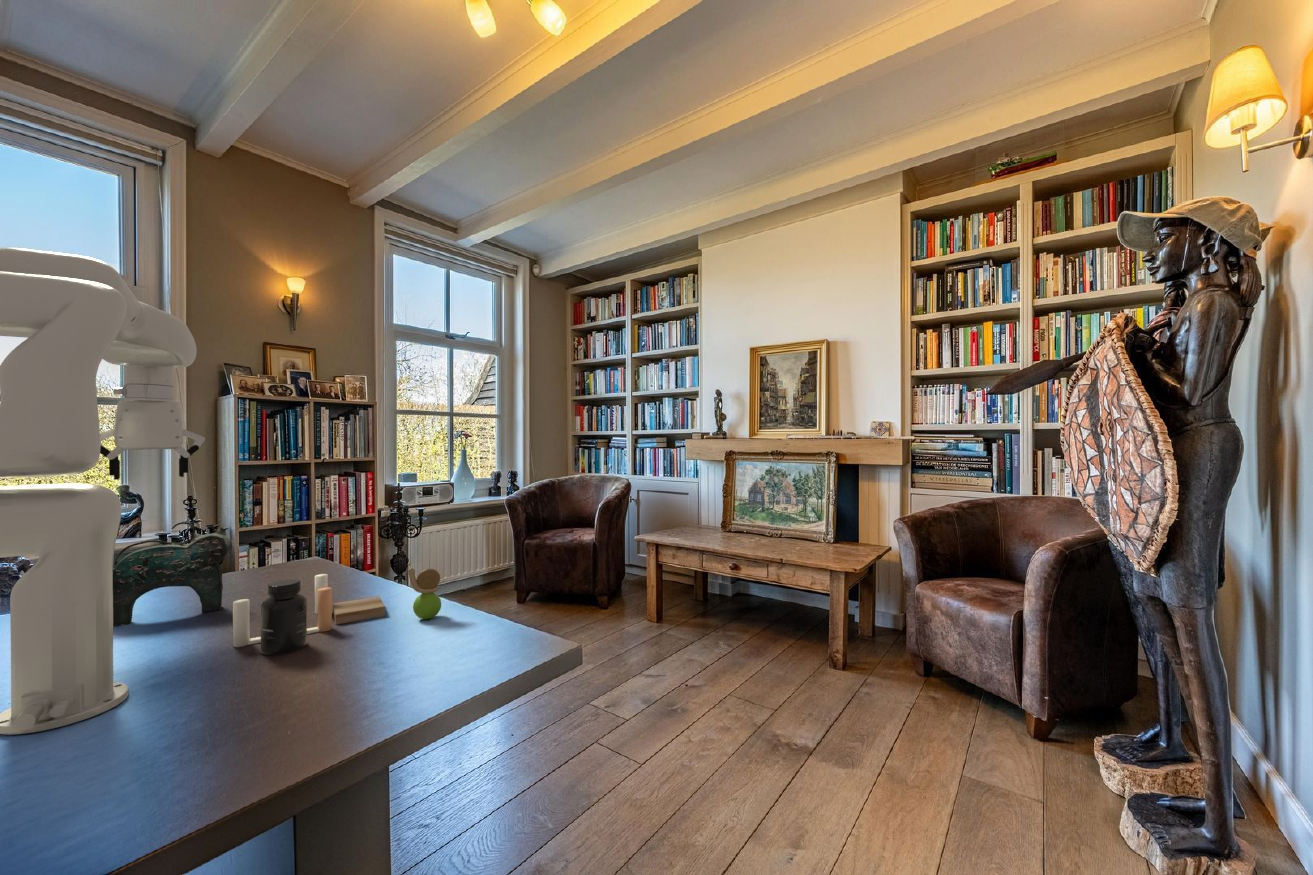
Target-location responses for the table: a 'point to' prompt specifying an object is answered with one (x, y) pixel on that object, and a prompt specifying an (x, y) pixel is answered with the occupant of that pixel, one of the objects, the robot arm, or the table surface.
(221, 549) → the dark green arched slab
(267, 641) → the supplement bottle
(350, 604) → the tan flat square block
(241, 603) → the post fence
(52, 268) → the robot arm
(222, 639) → the table surface
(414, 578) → the snail figurine
